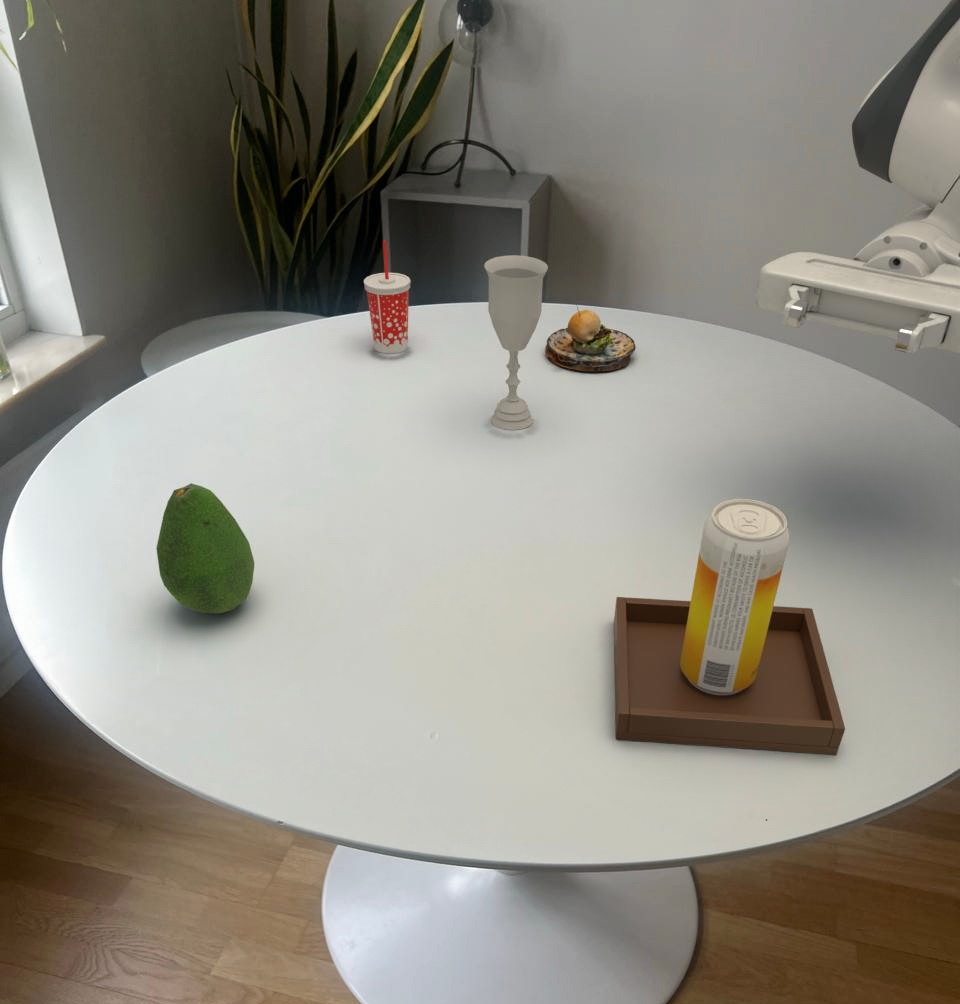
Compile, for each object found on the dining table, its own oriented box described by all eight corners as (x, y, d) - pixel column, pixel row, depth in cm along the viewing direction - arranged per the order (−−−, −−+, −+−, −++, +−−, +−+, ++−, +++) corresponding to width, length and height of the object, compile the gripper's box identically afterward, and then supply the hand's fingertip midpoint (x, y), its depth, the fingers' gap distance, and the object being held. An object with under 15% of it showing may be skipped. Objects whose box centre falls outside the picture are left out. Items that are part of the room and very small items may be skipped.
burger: (646, 369, 126) (652, 312, 121) (559, 377, 124) (562, 320, 119) (616, 334, 135) (621, 280, 130) (535, 341, 133) (537, 286, 128)
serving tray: (805, 633, 84) (812, 608, 82) (836, 755, 73) (845, 728, 71) (613, 621, 85) (616, 596, 83) (615, 739, 74) (618, 713, 72)
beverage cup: (421, 342, 133) (417, 236, 124) (400, 359, 128) (394, 251, 120) (382, 335, 135) (375, 230, 126) (360, 351, 130) (351, 244, 121)
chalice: (475, 410, 117) (475, 258, 105) (528, 403, 118) (533, 252, 107) (494, 438, 111) (497, 281, 100) (549, 429, 113) (558, 274, 102)
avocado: (217, 570, 91) (194, 457, 83) (278, 599, 88) (259, 484, 80) (151, 613, 86) (119, 496, 78) (212, 645, 83) (185, 527, 75)
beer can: (753, 655, 80) (790, 499, 71) (756, 704, 76) (796, 545, 66) (679, 646, 81) (706, 492, 72) (678, 695, 77) (706, 537, 67)
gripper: (795, 225, 90) (733, 266, 81) (1031, 266, 80) (989, 317, 72) (782, 293, 94) (721, 339, 85) (1006, 340, 84) (963, 397, 76)
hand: (846, 329), depth 78 cm, fingers open, 8 cm apart
